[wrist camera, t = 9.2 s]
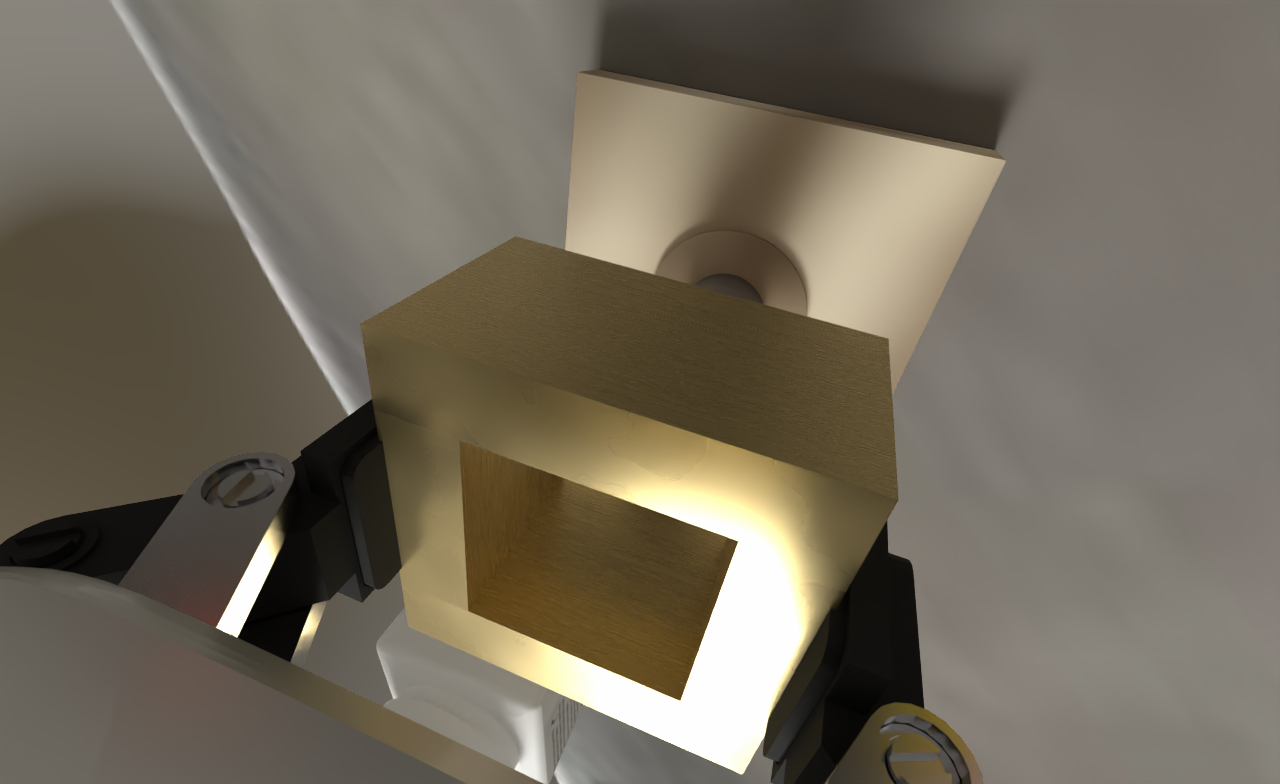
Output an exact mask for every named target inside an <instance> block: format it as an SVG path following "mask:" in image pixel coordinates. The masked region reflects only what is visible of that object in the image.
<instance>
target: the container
mask: <svg viewBox="0 0 1280 784" xmlns="http://www.w3.org/2000/svg"><path fill="white" fill-rule="evenodd" d="M376 648H377V652H378V655H379V658H380V661H381V664H382V667H383V670H384V673H385V676H386V679H387V682H388V685H389V688H390V691H391V693H392V696H393V699H392V700H389V701H388V702H386V703H385V705H384V706H383V707H385V708H387V709H389V710H391V711H393V712H395V713H397V714H399V715H402V716H404V717H406V718H408V719H410V720H412V721H414V722H416V723H418V724H420V725H423V726H425V727H427V728H429V729H431V730H433V731H435V732H437V733H439V734H441V735H443V736H446V737H448V738H450V739H452V740H454V741H456V742H458V743H460V744H462V745H464V746H466V747H468V748H471V749H473V750H475V751H477V752H479V753H481V754H483V755H485V756H487V757H489V758H491V759H494V760H496V761H498V762H500V763H502V764H504V765H506V766H508V767H510V768H512V769H514V770H516V771H519V772H521V773H523V774H525V775H527V776H529V777H531V778H533V779H535V780H537V781H539V782H541V783H543V784H549V783H550V781H551V778H552V776H553V774H554V771H555V769H556V767H557V764H558V762H559V760H560V757H561V755H562V753H563V751H564V748H565V746H566V744H567V741H568V739H569V737H570V734H571V732H572V730H573V727H574V725H575V723H576V720H577V718H578V716H579V713H580V711H581V709H582V706H583V704H582V703H580V702H577V701H575V700H573V699H571V698H568V697H566V696H564V695H562V694H559V693H557V692H555V691H553V690H550V689H548V688H546V687H543V686H541V685H539V684H537V683H534V682H532V681H530V680H528V679H525V678H523V677H521V676H519V675H516V674H514V673H512V672H510V671H507V670H505V669H503V668H501V667H498V666H496V665H494V664H491V663H489V662H487V661H485V660H482V659H480V658H478V657H476V656H473V655H471V654H469V653H467V652H464V651H462V650H460V649H458V648H455V647H453V646H451V645H448V644H446V643H444V642H442V641H439V640H437V639H435V638H433V637H430V636H428V635H426V634H424V633H421V632H419V631H417V630H415V629H412V628H410V627H408V622H407V615H406V609H405V608H404V609H403V610H402V612H401V613H400V614H399V615H398V616H397V618H396V619H395V620H394V621H393V622H392V624H391V625H390V626H389V627H388V629H387V630H386V631H385V632H384V634H383V635H382V636H381V637H380V638H379V640H378V642H377V644H376Z"/></svg>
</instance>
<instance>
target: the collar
mask: <svg viewBox="0 0 1280 784" xmlns="http://www.w3.org/2000/svg"><path fill="white" fill-rule="evenodd" d="M360 325H361V331H362V337H363V344H364V350H365V356H366V363H367V369H368V375H369V382H370V388H371V394H372V401H373V407H374V413H375V419H376V426H377V432H378V438H379V441H382V442H383V447H384V454H385V460H386V467H387V473H388V480H389V486H390V493H391V499H392V506H393V512H394V519H395V525H396V532H397V538H398V545H399V551H400V558H401V564H402V568H401V569H400V577H401V584H402V590H403V596H404V603H405V609H406V615H407V622H408V627H410V628H412V629H415V630H417V631H419V632H421V633H424V634H426V635H428V636H430V637H433V638H435V639H437V640H439V641H442V642H444V643H446V644H448V645H451V646H453V647H455V648H458V649H460V650H462V651H464V652H467V653H469V654H471V655H473V656H476V657H478V658H480V659H482V660H485V661H487V662H489V663H491V664H494V665H496V666H498V667H501V668H503V669H505V670H507V671H510V672H512V673H514V674H516V675H519V676H521V677H523V678H525V679H528V680H530V681H532V682H534V683H537V684H539V685H541V686H543V687H546V688H548V689H550V690H553V691H555V692H557V693H559V694H562V695H564V696H566V697H568V698H571V699H573V700H575V701H577V702H580V703H582V704H584V705H586V706H589V707H591V708H593V709H596V710H598V711H600V712H602V713H605V714H607V715H609V716H611V717H614V718H616V719H618V720H620V721H623V722H625V723H627V724H629V725H632V726H634V727H636V728H639V729H641V730H643V731H645V732H648V733H650V734H652V735H654V736H657V737H659V738H661V739H663V740H666V741H668V742H670V743H672V744H675V745H677V746H679V747H681V748H684V749H686V750H688V751H691V752H693V753H695V754H697V755H700V756H702V757H704V758H706V759H709V760H711V761H713V762H715V763H718V764H720V765H722V766H724V767H727V768H729V769H731V770H734V771H736V772H738V773H740V774H743V772H744V770H745V769H746V767H747V765H748V763H749V762H750V760H751V758H752V756H753V754H754V753H755V751H756V749H757V747H758V746H759V744H760V742H761V740H762V739H763V737H764V735H765V733H766V726H767V720H768V719H769V717H770V715H771V713H772V712H773V710H774V708H775V706H776V704H777V703H778V701H779V699H780V697H781V695H782V694H783V692H784V690H785V688H786V686H787V685H788V683H789V681H790V679H791V677H792V676H793V674H794V672H795V670H796V668H797V667H798V665H799V663H800V661H801V660H802V658H803V656H804V654H805V652H806V651H807V649H808V647H809V645H810V643H811V642H812V640H813V638H814V636H815V634H816V633H817V631H818V629H819V627H820V625H821V624H822V622H823V620H824V618H825V616H826V615H827V613H828V611H829V609H830V608H831V609H834V610H836V609H837V607H838V605H839V603H840V602H841V600H842V598H843V596H844V595H845V593H846V591H847V589H848V588H849V586H850V584H851V582H852V581H853V579H854V577H855V575H856V573H857V572H858V570H859V568H860V566H861V565H862V563H863V561H864V559H865V558H866V556H867V554H868V552H869V551H870V549H871V547H872V545H873V544H874V542H875V540H876V538H877V537H878V535H879V533H880V531H881V530H882V528H883V526H884V524H885V523H886V521H887V519H888V517H889V515H890V514H891V512H892V510H893V508H894V507H895V505H896V503H897V501H898V485H897V468H896V452H895V436H894V419H893V403H892V386H891V370H890V354H889V339H888V338H884V337H881V336H877V335H873V334H870V333H866V332H862V331H859V330H855V329H851V328H848V327H844V326H841V325H837V324H833V323H830V322H826V321H822V320H819V319H815V318H811V317H808V316H804V315H800V314H797V313H793V312H789V311H786V310H782V309H779V308H775V307H771V306H768V305H764V304H760V303H757V302H753V301H749V300H746V299H742V298H738V297H735V296H731V295H727V294H724V293H720V292H717V291H713V290H709V289H706V288H702V287H698V286H695V285H691V284H687V283H684V282H680V281H676V280H673V279H669V278H665V277H662V276H658V275H654V274H651V273H647V272H644V271H640V270H636V269H633V268H629V267H625V266H622V265H618V264H614V263H611V262H607V261H603V260H600V259H596V258H592V257H589V256H585V255H582V254H578V253H574V252H571V251H567V250H563V249H560V248H556V247H552V246H549V245H545V244H541V243H538V242H534V241H530V240H527V239H523V238H520V237H514V238H512V239H510V240H508V241H507V242H505V243H503V244H501V245H500V246H498V247H496V248H494V249H492V250H491V251H489V252H487V253H485V254H484V255H482V256H480V257H478V258H476V259H475V260H473V261H471V262H469V263H468V264H466V265H464V266H462V267H460V268H459V269H457V270H455V271H453V272H452V273H450V274H448V275H446V276H444V277H443V278H441V279H439V280H437V281H436V282H434V283H432V284H430V285H428V286H427V287H425V288H423V289H421V290H420V291H418V292H416V293H414V294H412V295H411V296H409V297H407V298H405V299H404V300H402V301H400V302H398V303H396V304H395V305H393V306H391V307H389V308H388V309H386V310H384V311H382V312H380V313H379V314H377V315H375V316H373V317H372V318H370V319H368V320H366V321H364V322H363V323H361V324H360Z"/></svg>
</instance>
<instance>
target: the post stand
mask: <svg viewBox="0 0 1280 784" xmlns="http://www.w3.org/2000/svg"><path fill="white" fill-rule="evenodd" d="M1005 162H1006V160H1005V159H1004V158H1003V157H1002V156H1001V155H1000V154H999V153H998V152H996V151H995V150H991V149H986V148H981V147H977V146H972V145H967V144H962V143H957V142H952V141H947V140H942V139H937V138H932V137H927V136H922V135H918V134H913V133H908V132H903V131H898V130H893V129H888V128H883V127H878V126H873V125H868V124H863V123H859V122H854V121H849V120H844V119H839V118H834V117H829V116H824V115H819V114H814V113H809V112H805V111H800V110H795V109H790V108H785V107H780V106H775V105H770V104H765V103H760V102H755V101H750V100H746V99H741V98H736V97H731V96H726V95H721V94H716V93H711V92H706V91H701V90H696V89H692V88H687V87H682V86H677V85H672V84H667V83H662V82H657V81H652V80H647V79H642V78H637V77H633V76H628V75H623V74H618V73H613V72H608V71H603V70H591V71H583V72H578V73H577V88H576V102H575V117H574V131H573V145H572V160H571V174H570V188H569V203H568V217H567V232H566V246H565V250H567V251H571V252H574V253H578V254H582V255H585V256H589V257H592V258H596V259H600V260H603V261H607V262H611V263H614V264H618V265H622V266H625V267H629V268H633V269H636V270H640V271H644V272H647V273H651V274H654V275H658V276H662V277H665V278H669V279H673V280H676V281H680V282H684V283H687V284H691V285H695V286H698V287H702V288H706V289H709V290H713V291H717V292H720V293H724V294H727V295H731V296H735V297H738V298H742V299H746V300H749V301H753V302H757V303H760V304H764V305H768V306H771V307H775V308H779V309H782V310H786V311H789V312H793V313H797V314H800V315H804V316H808V317H811V318H815V319H819V320H822V321H826V322H830V323H833V324H837V325H841V326H844V327H848V328H851V329H855V330H859V331H862V332H866V333H870V334H873V335H877V336H881V337H884V338H888V339H889V354H890V370H891V386H892V394H893V392H894V390H895V388H896V386H897V384H898V382H899V380H900V378H901V376H902V374H903V372H904V370H905V368H906V366H907V364H908V362H909V359H910V357H911V355H912V353H913V351H914V349H915V347H916V345H917V343H918V341H919V339H920V337H921V335H922V333H923V331H924V329H925V327H926V325H927V322H928V320H929V318H930V316H931V314H932V312H933V310H934V308H935V306H936V304H937V302H938V300H939V298H940V296H941V294H942V292H943V290H944V288H945V286H946V283H947V281H948V279H949V277H950V275H951V273H952V271H953V269H954V267H955V265H956V263H957V261H958V259H959V257H960V255H961V253H962V251H963V249H964V247H965V244H966V242H967V240H968V238H969V236H970V234H971V232H972V230H973V228H974V226H975V224H976V222H977V220H978V218H979V216H980V214H981V212H982V210H983V207H984V205H985V203H986V201H987V199H988V197H989V195H990V193H991V191H992V189H993V187H994V185H995V183H996V181H997V179H998V177H999V175H1000V173H1001V171H1002V168H1003V166H1004V164H1005Z"/></svg>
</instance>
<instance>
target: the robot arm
mask: <svg viewBox="0 0 1280 784" xmlns="http://www.w3.org/2000/svg"><path fill="white" fill-rule="evenodd" d="M401 568H402V564H401V558H400V551H399V545H398V538H397V532H396V525H395V519H394V512H393V506H392V499H391V493H390V486H389V480H388V473H387V467H386V460H385V454H384V447H383V442H382V441H379V438H378V432H377V426H376V419H375V413H374V407H373V401H372V399H371V400H370V401H369V402H367V403H366V404H365V405H363V406H362V407H360V408H359V409H358V410H356V411H355V412H354V413H352V414H351V415H349V416H348V417H347V418H345V419H344V420H343V421H341V422H340V423H338V424H337V425H336V426H334V427H333V428H332V429H330V430H329V431H327V432H326V433H325V434H323V435H322V436H321V437H319V438H318V439H316V440H315V441H314V442H312V443H311V444H310V445H308V446H307V447H305V448H304V449H303V450H301V456H300V457H299V458H297V459H296V460H295V461H293V462H292V463H291V462H289V460H288V459H287V458H285V457H282V456H280V455H277V454H273V453H265V452H256V453H246V454H241V455H237V456H233V457H230V458H227V459H225V460H222V461H220V462H218V463H216V464H214V465H212V466H211V467H209V468H208V469H206V470H205V471H203V472H202V473H201V474H200V475H199V476H198V477H197V478H196V479H195V480H194V481H193V483H192V484H191V485H190V487H189V488H188V489H187V491H186V492H185V494H182V495H177V496H171V497H166V498H160V499H155V500H149V501H144V502H138V503H132V504H127V505H121V506H115V507H110V508H104V509H100V510H93V511H88V512H82V513H77V514H71V515H66V516H61V517H58V518H54V519H50V520H46V521H43V522H41V523H38V524H36V525H33V526H31V527H29V528H26V529H24V530H23V531H20V532H19V533H17V534H15V535H14V536H12V537H10V538H9V539H7V540H6V541H5V542H3V543H2V544H1V545H0V784H543V783H541V782H539V781H537V780H535V779H533V778H531V777H529V776H527V775H525V774H523V773H521V772H519V771H516V770H514V769H512V768H510V767H508V766H506V765H504V764H502V763H500V762H498V761H496V760H494V759H491V758H489V757H487V756H485V755H483V754H481V753H479V752H477V751H475V750H473V749H471V748H468V747H466V746H464V745H462V744H460V743H458V742H456V741H454V740H452V739H450V738H448V737H446V736H443V735H441V734H439V733H437V732H435V731H433V730H431V729H429V728H427V727H425V726H423V725H420V724H418V723H416V722H414V721H412V720H410V719H408V718H406V717H404V716H402V715H399V714H397V713H395V712H393V711H391V710H389V709H387V708H385V707H383V706H380V705H378V704H376V703H374V702H372V701H370V700H368V699H366V698H364V697H362V696H359V695H357V694H355V693H353V692H351V691H349V690H347V689H345V688H343V687H341V686H339V685H336V684H334V683H332V682H330V681H328V680H326V679H324V678H322V677H320V676H317V675H315V674H313V673H311V672H309V671H307V670H304V669H303V668H302V667H303V665H304V662H305V660H306V657H307V654H308V651H309V649H310V646H311V643H312V640H313V638H314V635H315V632H316V630H317V627H318V624H319V621H320V619H321V616H322V613H323V611H324V608H325V605H326V603H327V600H330V599H331V598H332V597H333V596H334V595H335V594H336V593H337V592H339V593H342V594H344V595H346V596H348V597H351V598H353V599H355V600H357V601H360V602H363V601H364V600H365V599H366V598H367V597H368V595H370V593H371V592H372V591H373V590H374V589H375V588H376V589H382V588H383V587H385V586H386V585H387V584H388V583H389V582H390V581H391V580H392V578H393V577H394V576H395V575H396V574H397V573H398V572H399V571H400V569H401ZM763 755H764V756H765V757H767V758H769V759H772V760H774V761H773V768H772V776H771V783H773V784H983V778H982V774H981V772H980V769H979V767H978V765H977V762H976V760H975V758H974V756H973V754H972V753H971V751H970V750H969V748H968V747H967V745H966V744H965V743H964V741H963V740H962V738H961V737H960V736H959V735H958V734H957V733H956V732H955V731H954V730H953V729H952V728H951V727H950V726H949V725H948V724H947V723H946V722H945V721H943V720H942V719H940V718H939V717H937V716H936V715H934V714H933V713H931V712H930V711H928V710H926V709H924V699H923V687H922V674H921V662H920V649H919V637H918V624H917V612H916V599H915V587H914V574H913V568H912V564H911V562H910V561H909V560H908V559H905V558H902V557H899V556H896V555H893V554H890V553H888V531H887V521H886V523H885V524H884V526H883V528H882V530H881V531H880V533H879V535H878V537H877V538H876V540H875V542H874V544H873V545H872V547H871V549H870V551H869V552H868V554H867V556H866V558H865V559H864V561H863V563H862V565H861V566H860V568H859V570H858V572H857V573H856V575H855V577H854V579H853V581H852V582H851V584H850V586H849V588H848V589H847V591H846V593H845V595H844V596H843V598H842V600H841V602H840V603H839V605H838V607H837V609H836V610H834V609H831V608H830V609H829V611H828V613H827V615H826V616H825V618H824V620H823V622H822V624H821V625H820V627H819V629H818V631H817V633H816V634H815V636H814V638H813V640H812V642H811V643H810V645H809V647H808V649H807V651H806V652H805V654H804V656H803V658H802V660H801V661H800V663H799V665H798V667H797V668H796V670H795V672H794V674H793V676H792V677H791V679H790V681H789V683H788V685H787V686H786V688H785V690H784V692H783V694H782V695H781V697H780V699H779V701H778V703H777V704H776V706H775V708H774V710H773V712H772V713H771V715H770V717H769V719H768V720H767V726H766V733H765V739H764V747H763Z"/></svg>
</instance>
